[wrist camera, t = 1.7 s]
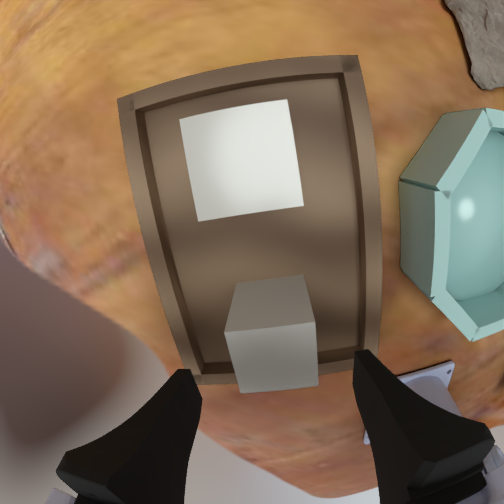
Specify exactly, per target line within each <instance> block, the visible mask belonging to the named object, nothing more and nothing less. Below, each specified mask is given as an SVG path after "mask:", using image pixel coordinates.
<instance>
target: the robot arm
mask: <svg viewBox="0 0 504 504" xmlns="http://www.w3.org/2000/svg"><path fill="white" fill-rule="evenodd" d="M454 366H455V364H454V362H453V361H449V362H446V363H443V364H440V365H437V366H434V367H430V368H427V369H424V370H420V371H417V372H413V373H410V374H406V375H402V376H398V377H396V376H395V375H394V374H393V373H392V372H391V371H390V370H389V369H387V368H386V367H385V366H384V365H383V364H382V363H381V362H380V361H379V360H378V358H377V357H376V356H375V355H374V354H373V353H372V352H371V351H370V350H369V349H365V350H360V351H354V370H353V389H354V393H355V398H356V402H357V406H358V408H359V411H360V414H361V417H362V420H363V423H364V426H365V434H364V439H363V442H364V444H371V447H372V452H373V457H374V462H375V468H376V474H377V480H378V488H379V496H380V504H504V454H503V453H502V451H501V450H500V448H499V447H498V446H497V445H494V442H495V440H494V438H493V436H492V434H491V432H490V430H489V429H488V427H487V426H486V425H485V423H481V422H477V421H474V420H470V419H467V418H464V417H463V416H462V414H461V412H460V411H459V409H458V407H457V405H456V404H455V402H454V400H453V398H452V397H451V395H450V393H449V392H448V390H447V387H448V384H449V382H450V379H451V376H452V373H453V370H454ZM201 406H202V397H201V394H200V392H199V390H198V387H197V385H196V382H195V380H194V377H193V374H192V372H191V369H178V370H177V371H176V372H175V373H174V374H173V375H172V376H171V377H170V378H169V379H168V381H167V382H166V383H165V384H164V385H163V386H162V387H161V388H160V390H158V392H157V393H156V394H155V395H154V396H153V397H152V398H151V399H150V400H149V401H148V402H147V403H146V404H145V405H144V406H143V407H141V409H139V410H138V411H137V412H136V413H135V414H134V415H133V416H132V417H130V418H129V419H128V420H126V421H125V422H124V423H122V424H121V425H120V426H118V427H117V428H115V429H113V430H112V431H110V432H109V433H107V434H105V435H104V436H102V437H100V438H98V439H96V440H94V441H92V442H90V443H88V444H86V445H83V446H81V447H78V448H76V449H73V450H70V451H67V452H66V453H65V455H64V456H63V458H62V460H61V462H60V464H59V466H58V467H57V469H56V473H57V475H58V477H59V478H60V479H61V480H62V481H63V482H65V483H66V484H67V485H68V486H69V487H70V488H72V489H73V490H74V491H75V492H76V493H78V496H77V498H75V497H73V496H71V495H69V494H67V493H65V492H63V491H60V490H58V489H56V488H53V489H52V491H51V493H50V495H49V497H48V499H47V501H46V503H45V504H184V495H185V484H186V475H187V467H188V461H189V457H190V453H191V449H192V446H193V442H194V438H195V435H196V431H197V427H198V424H199V420H200V414H201Z"/></svg>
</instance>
